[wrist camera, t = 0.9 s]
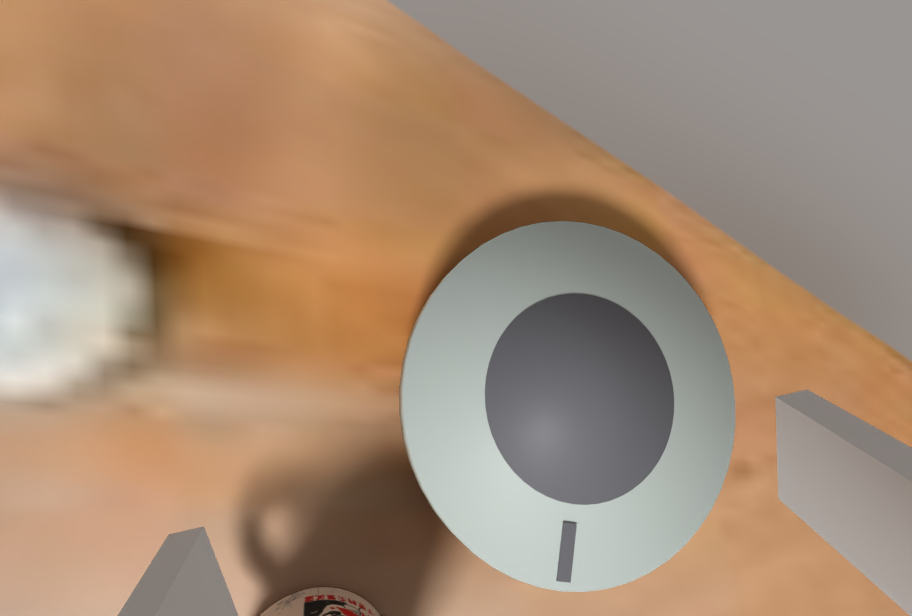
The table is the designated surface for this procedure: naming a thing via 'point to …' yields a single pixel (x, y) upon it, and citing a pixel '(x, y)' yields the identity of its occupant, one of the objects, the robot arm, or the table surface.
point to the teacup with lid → (322, 604)
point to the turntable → (567, 406)
